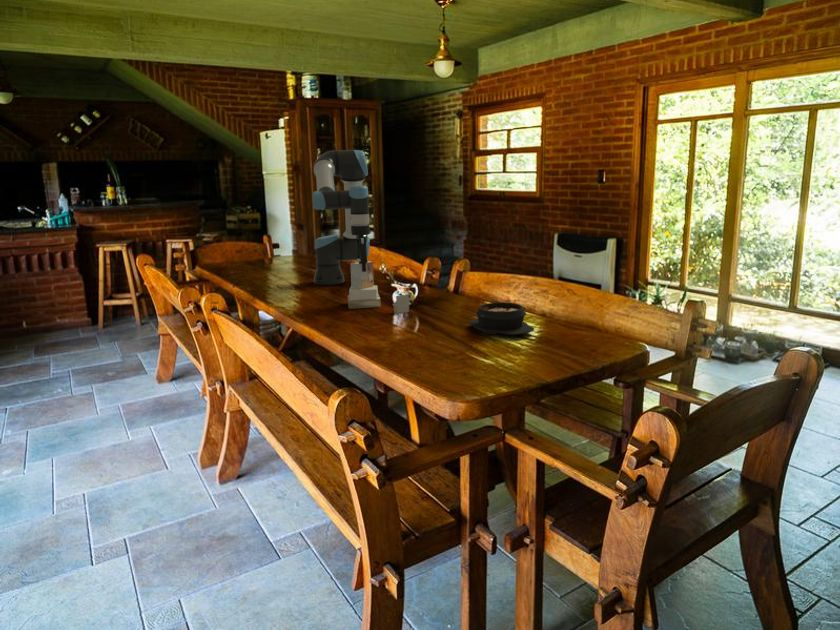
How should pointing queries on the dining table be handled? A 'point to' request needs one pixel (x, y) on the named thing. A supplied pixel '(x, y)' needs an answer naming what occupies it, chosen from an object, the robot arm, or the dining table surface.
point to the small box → (356, 276)
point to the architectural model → (401, 304)
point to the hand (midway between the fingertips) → (362, 276)
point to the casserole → (501, 319)
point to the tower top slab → (363, 293)
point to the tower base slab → (364, 303)
